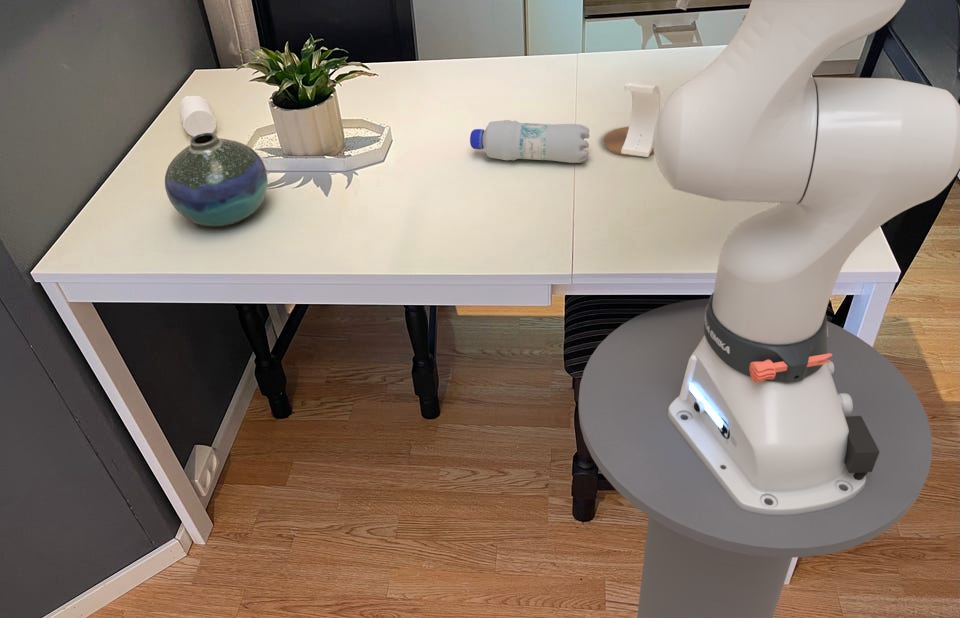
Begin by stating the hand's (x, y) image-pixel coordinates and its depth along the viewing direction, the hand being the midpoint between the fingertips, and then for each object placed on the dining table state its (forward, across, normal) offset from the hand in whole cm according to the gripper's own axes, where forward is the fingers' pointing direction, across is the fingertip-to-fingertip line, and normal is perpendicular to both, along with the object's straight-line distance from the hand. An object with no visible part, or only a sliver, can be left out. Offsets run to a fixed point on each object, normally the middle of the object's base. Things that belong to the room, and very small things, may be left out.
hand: (712, 19), depth 112 cm
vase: (+49, -60, -18) cm, 80 cm away
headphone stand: (+23, -4, +13) cm, 27 cm away
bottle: (+24, -12, +7) cm, 27 cm away
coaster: (+23, -6, +16) cm, 28 cm away
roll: (+46, -85, +7) cm, 97 cm away
